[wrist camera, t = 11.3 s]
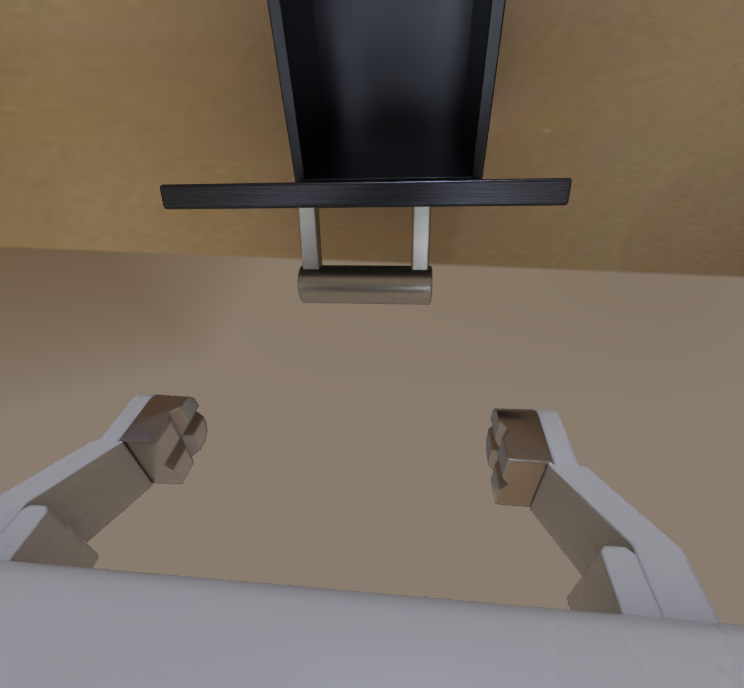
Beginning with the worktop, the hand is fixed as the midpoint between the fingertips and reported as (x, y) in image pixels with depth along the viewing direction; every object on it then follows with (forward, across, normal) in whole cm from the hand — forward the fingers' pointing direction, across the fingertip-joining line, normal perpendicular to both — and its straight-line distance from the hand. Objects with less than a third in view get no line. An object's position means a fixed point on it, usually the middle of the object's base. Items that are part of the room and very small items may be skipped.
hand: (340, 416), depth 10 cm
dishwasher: (+32, 0, -8) cm, 33 cm away
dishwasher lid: (+14, 0, -2) cm, 14 cm away
